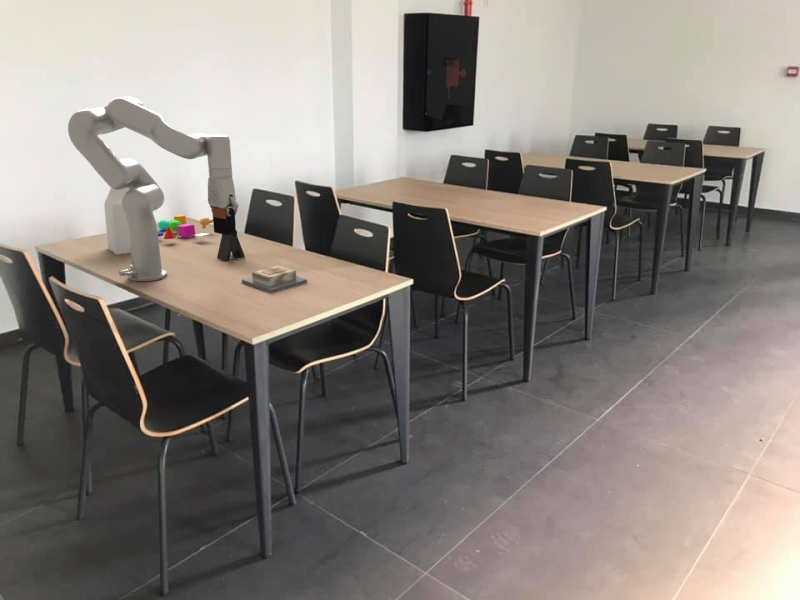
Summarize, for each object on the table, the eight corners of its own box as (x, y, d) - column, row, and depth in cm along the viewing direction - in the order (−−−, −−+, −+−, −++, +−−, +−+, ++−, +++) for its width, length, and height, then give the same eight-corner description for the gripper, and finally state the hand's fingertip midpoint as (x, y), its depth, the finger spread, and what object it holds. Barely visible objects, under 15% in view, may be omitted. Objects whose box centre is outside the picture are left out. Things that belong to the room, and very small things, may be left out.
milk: (116, 254, 250) (108, 189, 241) (107, 248, 258) (99, 184, 249) (147, 250, 257) (140, 186, 248) (137, 244, 265) (130, 182, 256)
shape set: (184, 228, 301) (181, 213, 299) (232, 233, 282) (230, 217, 279) (128, 239, 278) (125, 223, 276) (177, 246, 259) (174, 228, 257)
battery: (226, 235, 213) (224, 206, 210) (213, 232, 217) (211, 204, 214) (236, 233, 217) (234, 204, 213) (223, 230, 220) (221, 202, 217)
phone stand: (226, 261, 244) (223, 231, 240) (216, 258, 248) (214, 228, 244) (245, 257, 250) (243, 227, 246) (235, 254, 254) (234, 225, 250)
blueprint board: (270, 293, 210) (270, 289, 210) (241, 282, 220) (241, 279, 219) (307, 282, 222) (307, 279, 221) (278, 273, 231) (277, 270, 231)
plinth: (268, 286, 213) (268, 277, 212) (252, 280, 219) (252, 271, 218) (296, 278, 222) (295, 269, 221) (279, 273, 227) (279, 264, 226)
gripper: (196, 171, 213) (200, 223, 219) (226, 177, 202) (230, 231, 208) (215, 169, 218) (219, 219, 224) (245, 174, 207) (249, 227, 213)
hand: (224, 224), depth 216 cm, fingers closed on battery, 7 cm apart
